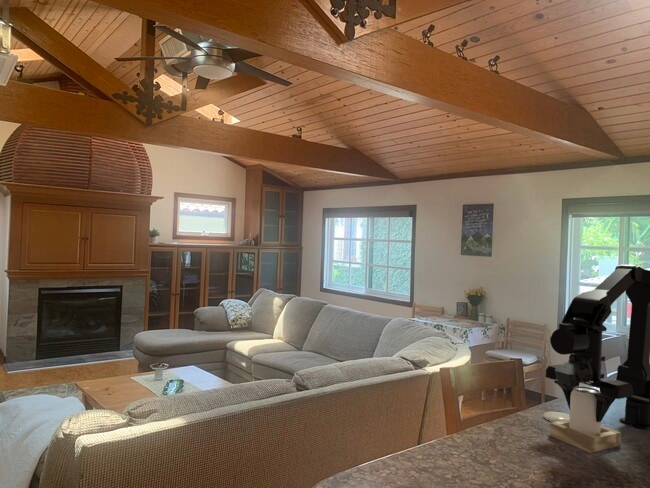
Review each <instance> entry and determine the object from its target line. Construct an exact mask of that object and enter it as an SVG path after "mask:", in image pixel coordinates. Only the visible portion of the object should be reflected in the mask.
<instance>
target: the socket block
mask: <svg viewBox="0 0 650 488" xmlns="http://www.w3.org/2000/svg"><path fill="white" fill-rule="evenodd" d="M569 421H570V419H568V420H563V421H557V422H550V423H549V436H550V437H553V438H554V439H558V440H560V441H562V442H564V443H567V444H569V445H571V446H574V447H576V448H578V449H580V450H582V451H586V452H588V453H589V454H591V453H595V452H599V451H603V450H604V451H605V450H608V449H613V448H615V447H620V446H621V434H622V433H621V432H620V431H617V430H615V429H612V428H609V427H606V426H603V425H601V430H600V434H595V435H590V436H588V435H585V434H583V433H581V432H578V431H576V430H573V429H571V428H569Z"/></svg>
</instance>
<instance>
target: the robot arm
mask: <svg viewBox="0 0 650 488" xmlns="http://www.w3.org/2000/svg"><path fill="white" fill-rule="evenodd" d="M624 293H625V295H626V297H627V299H628V300H629V302H630V303H631V311H630V321H629V322H630V323H629V331H628V332H629V333H628V335H629V336H628V343H627V357H626V360H625V361H624V362H623V363H622V364H621V365H620V364H619V365H618V367H617V368H616V369H617V371H616V373H617V374H616V378H615V379H609V380H603V379H605V373H603V372H602V362H605V361H606V356H605V355H602V353H603V352H602V347H603V332H607V330H608V329H607V327H606V326H605V325H604V323H605V322H606V321H607V320H608V318H609V317H610V315H611V314H612V312H613V311H612V307H611V306H612V305H613V304H614V303H615V301H616V300H618V299H619V298H620V297H621V296H622V295H623V294H624ZM549 340H550V341H549V342H550V346H551V348H552V349H553V350H554V352H556V353H558V354H560V355H564V356H565V355H569V358H568V361H567V362H564V363H562V364H561V363H560V364H553V365H548V366H547V367H546V368H545V378H547V379H551V380H553V383H554V384H556V385H557V386H559V388H560V389H561V390H562V392H563V395H564V397H565V401H566V403H567V408H568V409H569V411H570V396H571V392H572V391H573V387H576V386H580V384H583V385H588V386H590V387H592V388H596V389H599V391H600V393H595V394H594V396H595V398H596V400H597V405H596V421H597V422H601V423H602V420H603V419H604V417H605V415H606V414H607V412H608V410H609V409H610V407H611V406H612V404H613V403H614V402H615V400H616V399H617V400H621V399H625V406H624V407H625V409H624V417H621V418H619V422H621V423H625V424H627V425H629V426H634V427H636V428H639V429H643V430H646V429H650V270H649V269H645V268H643V267H642V266H638V264H637V265H636V264H635V265H634V264H618V265H617V266H616V267H615V268H614V271H613V272H612V273H611V274H609V276H607V277H606V278H605V279H604V280H603V281H602V282H601V283H600V284H599V285H597V286H596V287H595V288H594V289H591V290H588V291H585V292H582V293H580V294H578V295H576V296H575V297H573V298H572V300H571V302H570V304H569V306H568V308H567V310H566V312H565V314H564V316H563V319H562V321H561V322H560V323H559V324H558V328H556V329H555V330H554V331H553V332H552V334H551V336H550V338H549Z"/></svg>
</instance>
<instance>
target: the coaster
mask: <svg viewBox="0 0 650 488" xmlns="http://www.w3.org/2000/svg"><path fill="white" fill-rule="evenodd" d="M543 418H544V419H545V420H546V421H548V420H549V421H548V422H550V423H552V422H557V421H563V420H568V419H570V413H565V412H560V411H559V412H558V411H546V412H544V413H543Z"/></svg>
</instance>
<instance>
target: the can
mask: <svg viewBox="0 0 650 488" xmlns="http://www.w3.org/2000/svg"><path fill="white" fill-rule="evenodd" d="M595 393H600V389H598V388H595V387H592V386H590V387H589V386H586V385H584V386H583V385H579V386H576V387H573V391H572V392H571V396H570V410H569V415H570V421H569V428H571V429H573V430H576V431H578V432H581V433H583V434H585V435H588V436H590V435H595V434H600V430H601V426H602V421H601V422H597V421H596V405H597V400H596V398H595V396H594V394H595Z"/></svg>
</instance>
